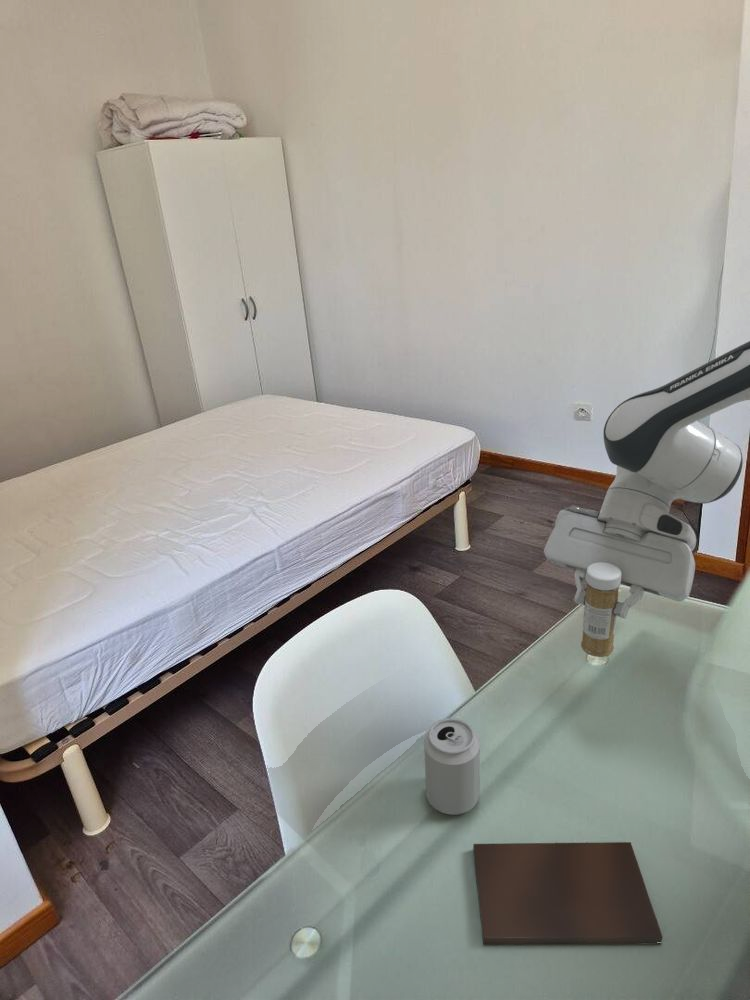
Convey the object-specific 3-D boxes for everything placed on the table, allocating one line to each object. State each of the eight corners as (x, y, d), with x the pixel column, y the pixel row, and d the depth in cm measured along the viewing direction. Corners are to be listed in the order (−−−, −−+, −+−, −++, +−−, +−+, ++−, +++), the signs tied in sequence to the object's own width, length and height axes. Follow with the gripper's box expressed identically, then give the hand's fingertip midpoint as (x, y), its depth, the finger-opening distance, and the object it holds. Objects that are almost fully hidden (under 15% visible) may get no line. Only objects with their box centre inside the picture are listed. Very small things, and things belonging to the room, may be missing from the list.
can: (449, 766, 102) (448, 704, 96) (490, 794, 97) (491, 731, 91) (414, 797, 97) (411, 735, 92) (456, 829, 92) (455, 764, 87)
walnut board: (629, 848, 88) (630, 841, 88) (661, 944, 77) (662, 937, 77) (473, 849, 89) (473, 843, 89) (483, 944, 79) (483, 938, 78)
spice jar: (619, 647, 99) (628, 568, 93) (602, 663, 96) (611, 582, 90) (590, 634, 102) (597, 557, 96) (573, 649, 99) (580, 570, 93)
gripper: (557, 495, 101) (524, 581, 99) (704, 530, 90) (670, 629, 87) (568, 510, 106) (537, 592, 104) (708, 545, 95) (677, 639, 92)
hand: (599, 610), depth 96 cm, fingers closed on spice jar, 4 cm apart
